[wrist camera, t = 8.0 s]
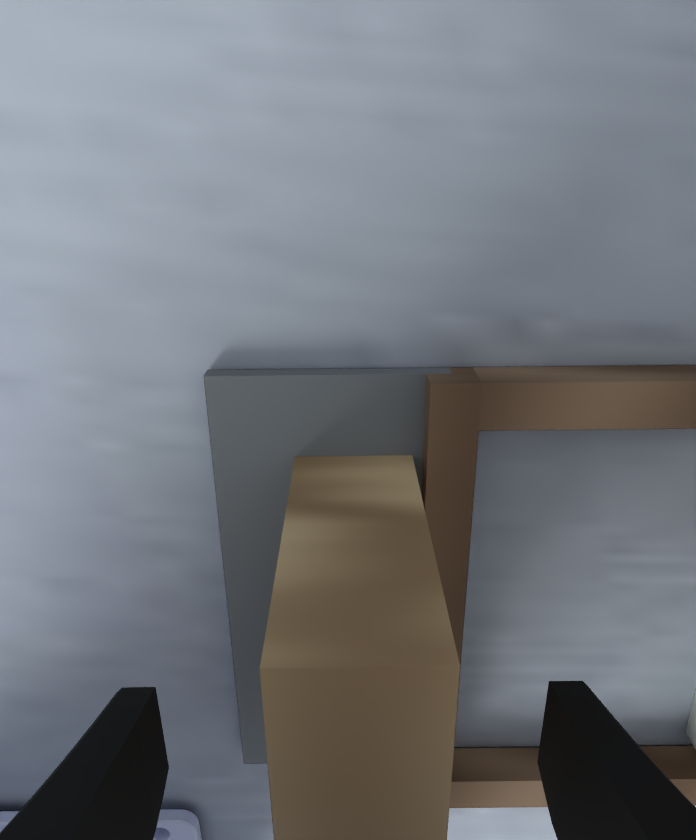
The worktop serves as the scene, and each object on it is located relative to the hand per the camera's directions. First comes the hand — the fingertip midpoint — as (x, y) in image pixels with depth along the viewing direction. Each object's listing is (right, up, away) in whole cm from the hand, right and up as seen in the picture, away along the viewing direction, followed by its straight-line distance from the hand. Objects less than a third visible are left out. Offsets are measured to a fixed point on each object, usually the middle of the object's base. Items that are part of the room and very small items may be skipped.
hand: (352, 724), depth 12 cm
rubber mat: (0, +2, +4) cm, 4 cm away
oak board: (0, +1, +3) cm, 4 cm away
